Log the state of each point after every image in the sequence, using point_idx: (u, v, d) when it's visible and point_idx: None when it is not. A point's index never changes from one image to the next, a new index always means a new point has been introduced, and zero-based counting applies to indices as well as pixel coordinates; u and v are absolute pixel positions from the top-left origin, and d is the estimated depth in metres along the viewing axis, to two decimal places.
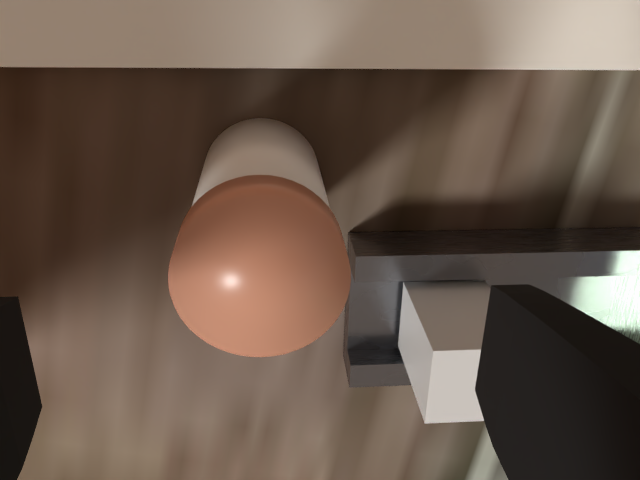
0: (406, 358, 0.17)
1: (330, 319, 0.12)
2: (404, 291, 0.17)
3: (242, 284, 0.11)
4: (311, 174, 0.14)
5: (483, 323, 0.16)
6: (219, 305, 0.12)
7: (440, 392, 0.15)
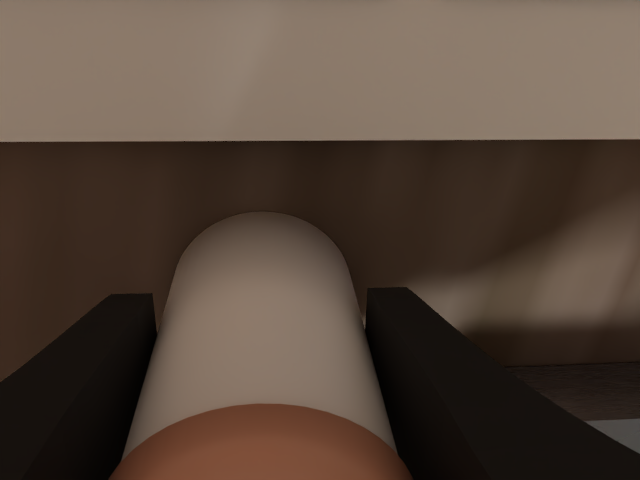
0: None
1: None
2: None
3: None
4: (352, 347, 0.08)
5: None
6: None
7: None
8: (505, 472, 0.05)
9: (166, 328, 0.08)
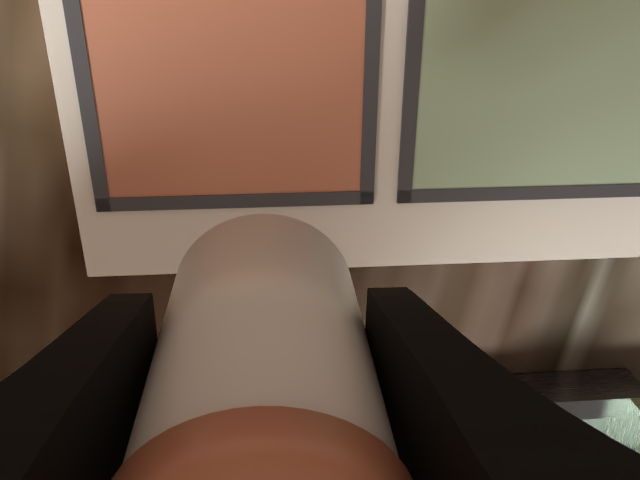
0: None
1: None
2: None
3: None
4: (352, 349, 0.08)
5: None
6: None
7: None
8: (505, 472, 0.05)
9: (167, 330, 0.08)
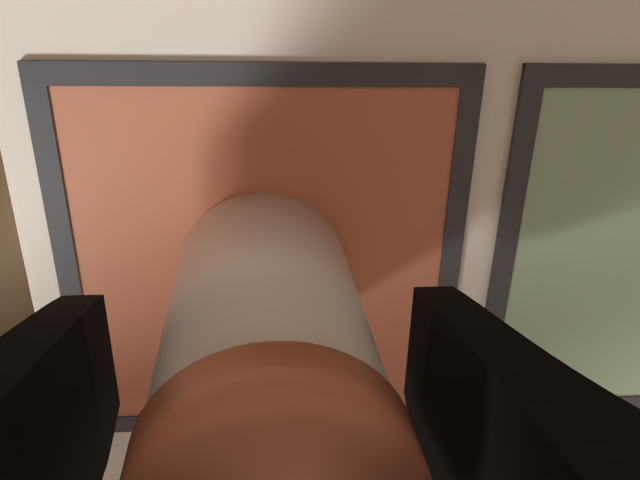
0: None
1: None
2: None
3: None
4: (349, 303, 0.08)
5: None
6: None
7: None
8: (593, 468, 0.05)
9: (179, 293, 0.09)
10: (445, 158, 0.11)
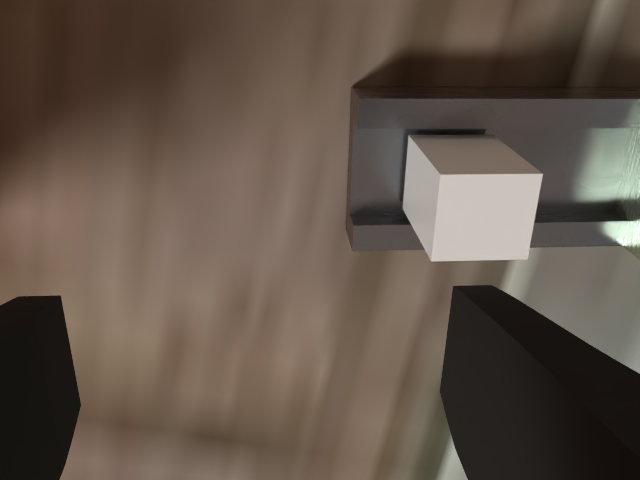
0: (411, 212, 0.17)
1: None
2: (409, 143, 0.17)
3: None
4: None
5: (492, 159, 0.15)
6: None
7: (447, 224, 0.14)
8: None
9: None
10: None
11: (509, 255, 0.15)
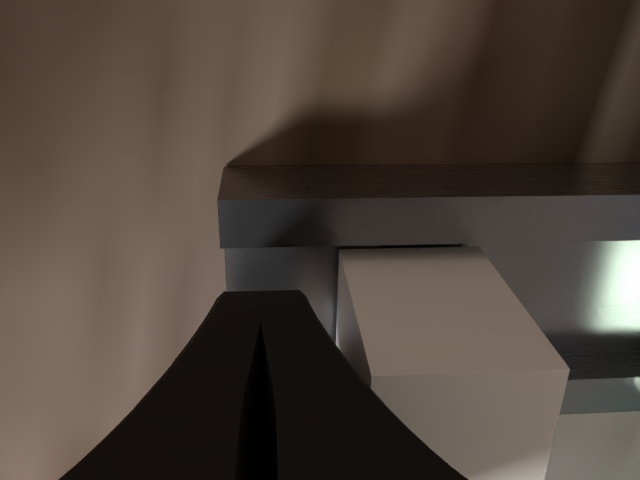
0: None
1: None
2: (340, 265, 0.10)
3: None
4: None
5: (475, 320, 0.08)
6: None
7: None
8: None
9: None
10: None
11: None
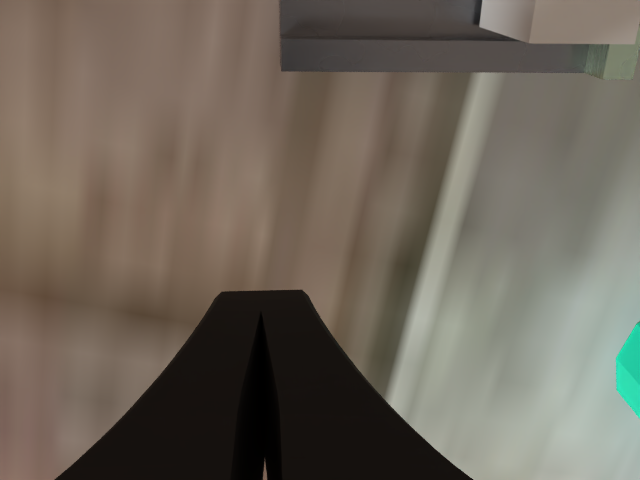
0: (495, 17, 0.15)
1: None
2: None
3: None
4: None
5: None
6: None
7: None
8: None
9: None
10: None
11: (616, 38, 0.13)
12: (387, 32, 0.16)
